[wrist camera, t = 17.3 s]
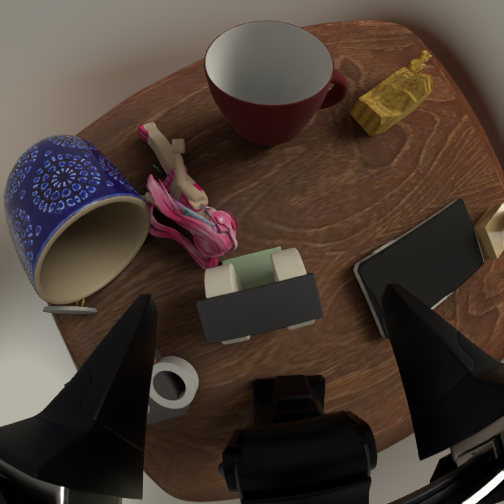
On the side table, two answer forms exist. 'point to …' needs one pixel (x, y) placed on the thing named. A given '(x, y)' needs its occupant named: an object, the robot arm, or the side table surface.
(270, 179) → the side table surface
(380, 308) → the smartphone
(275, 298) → the headphones
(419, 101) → the figurine
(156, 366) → the electronic device
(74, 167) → the planter
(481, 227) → the hook stand
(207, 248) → the toy
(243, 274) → the felt mat
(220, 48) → the mug
